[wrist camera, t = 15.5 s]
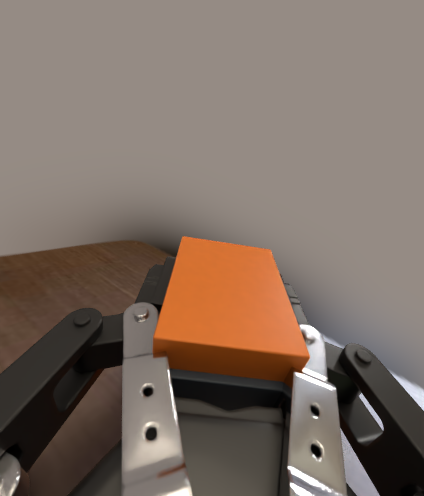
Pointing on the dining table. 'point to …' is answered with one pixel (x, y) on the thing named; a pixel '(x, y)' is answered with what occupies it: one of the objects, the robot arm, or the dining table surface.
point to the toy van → (228, 326)
